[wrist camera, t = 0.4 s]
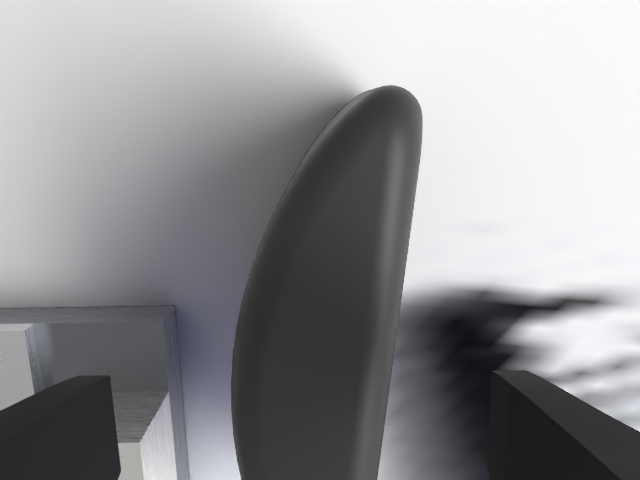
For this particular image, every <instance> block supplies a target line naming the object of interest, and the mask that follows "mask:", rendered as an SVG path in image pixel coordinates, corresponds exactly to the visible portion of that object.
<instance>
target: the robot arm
mask: <svg viewBox="0 0 640 480" xmlns="http://www.w3.org/2000/svg"><path fill="white" fill-rule="evenodd" d="M487 468H488V472H489V476H490V479H491V480H640V432H639V431H637V430H635V429H633V428H631V427H629V426H627V425H626V424H624V423H622V422H620V421H618V420H616V419H614V418H612V417H611V416H609V415H607V414H605V413H603V412H601V411H600V410H598V409H596V408H594V407H593V406H591V405H589V404H587V403H585V402H584V401H582V400H580V399H578V398H577V397H575V396H573V395H571V394H570V393H568V392H566V391H564V390H563V389H561V388H559V387H557V386H556V385H554V384H552V383H550V382H548V381H547V380H545V379H543V378H541V377H539V376H537V375H535V374H533V373H530V372H528V371H492V386H491V406H490V426H489V446H488V466H487ZM120 473H121V464H120V456H119V447H118V439H117V430H116V422H115V413H114V405H113V396H112V388H111V380H110V375H92V376H76V377H73V378H70V379H67V380H64V381H62V382H60V383H57V384H55V385H53V386H51V387H48V388H46V389H44V390H42V391H40V392H38V393H36V394H34V395H31V396H29V397H27V398H25V399H23V400H21V401H19V402H17V403H15V404H13V405H11V406H9V407H7V408H5V409H3V410H1V411H0V480H118V478H119V475H120Z"/></svg>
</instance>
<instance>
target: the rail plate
mask: <svg viewBox="0 0 640 480" xmlns="http://www.w3.org/2000/svg"><path fill="white" fill-rule="evenodd" d="M92 375H110V380H111V388H112V396H113V405H114V413H115V422H116V430H117V439H118V447H119V456H120V464H121V473H120V475H119V478H118V480H190V475H189V464H188V452H187V441H186V429H185V418H184V407H183V395H182V384H181V372H180V361H179V350H178V338H177V327H176V315H175V306H125V307H57V308H0V411H1V410H3V409H5V408H7V407H9V406H11V405H13V404H15V403H17V402H19V401H21V400H23V399H25V398H27V397H29V396H31V395H34V394H36V393H38V392H40V391H42V390H44V389H46V388H48V387H51V386H53V385H55V384H57V383H60V382H62V381H64V380H67V379H70V378H73V377H76V376H92Z"/></svg>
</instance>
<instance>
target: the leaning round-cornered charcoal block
mask: <svg viewBox="0 0 640 480" xmlns="http://www.w3.org/2000/svg"><path fill="white" fill-rule="evenodd" d="M421 144H422V111H421V107H420V105H419V103H418V101H417V99H416V98H415V97H414V96H413V95H412V94H411V93H410V92H409V91H407V90H406V89H404V88H401V87H398V86H391V85H390V86H382V87H379V88H375V89H372V90H369V91H365V92H363V93H361V94H360V95H358V96H357V97H355V98H354V99H353V100H352V101H350V102H349V103H348V104H347V105H346V106H344V107H343V108H342V109H341V110H340V111H339V112H338V113H337V114H336V115H335V116H334V117H333V118H332V119H331V121H330V122H329V123H328V124H327V125H326V126H325V128H324V129H323V130H322V131H321V133H320V134H319V135H318V137H317V138H316V139H315V141H314V142H313V144H312V145H311V146H310V148H309V149H308V151H307V153H306V154H305V156H304V158H303V159H302V161H301V163H300V164H299V166H298V168H297V170H296V172H295V174H294V176H293V177H292V179H291V181H290V183H289V185H288V187H287V189H286V191H285V193H284V195H283V197H282V198H281V200H280V202H279V204H278V206H277V208H276V210H275V212H274V214H273V216H272V218H271V220H270V222H269V225H268V227H267V229H266V231H265V233H264V236H263V238H262V240H261V243H260V246H259V248H258V251H257V254H256V256H255V259H254V262H253V265H252V268H251V271H250V274H249V278H248V281H247V284H246V288H245V291H244V295H243V299H242V303H241V308H240V313H239V318H238V323H237V329H236V336H235V343H234V350H233V361H232V378H231V411H232V423H233V436H234V442H235V449H236V455H237V462H238V466H239V471H240V475H241V479H242V480H377V476H378V469H379V461H380V454H381V446H382V439H383V432H384V424H385V417H386V409H387V402H388V394H389V387H390V379H391V372H392V365H393V357H394V350H395V342H396V335H397V327H398V320H399V312H400V305H401V298H402V290H403V283H404V275H405V268H406V260H407V253H408V245H409V238H410V231H411V223H412V216H413V208H414V201H415V193H416V186H417V178H418V171H419V164H420V155H421Z"/></svg>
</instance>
